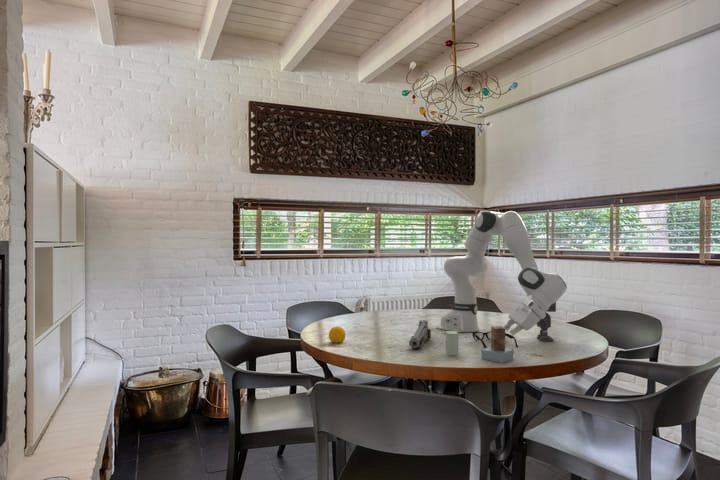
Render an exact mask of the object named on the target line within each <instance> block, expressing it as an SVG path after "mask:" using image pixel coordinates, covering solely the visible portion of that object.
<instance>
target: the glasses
mask: <svg viewBox="0 0 720 480" xmlns="http://www.w3.org/2000/svg"><path fill="white" fill-rule="evenodd" d="M489 333H490V334H491V331H485V332H482V331H474V332H472V333H471V335H472V337H473V340H474V341H477V340H478V341H480V342H481V344H482V346H483V349H485V348H488V346H487V345H486V343H485V341H484V339H485V338H486V339H487V340H490V341H491V338H489V336H488V335H489ZM477 334H482V337H480V336H478V335H477ZM505 337H507V338H509V339H510V340H511V339H512V340H513V341H514V344H515V348H517V349H518V348H519V346H518V342H517V338H516V337H515V336H514V335H512V334H511V333H506V332H505ZM478 341H477V342H478Z"/></svg>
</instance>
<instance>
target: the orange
mask: <svg viewBox="0 0 720 480" xmlns="http://www.w3.org/2000/svg"><path fill="white" fill-rule="evenodd" d="M328 332H329V333H328V339H329V340H330V342H331V343H334V344H341V343H343V342H344V341H346V337H347V336H346V330H345V329H344V328H343V327H341V326H333V327H331V329H330V330H329V331H328Z"/></svg>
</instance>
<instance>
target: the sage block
mask: <svg viewBox="0 0 720 480" xmlns="http://www.w3.org/2000/svg"><path fill="white" fill-rule="evenodd" d="M445 354H446V355H447V356H459V332H457V331H449V330H445Z"/></svg>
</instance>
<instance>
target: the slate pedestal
mask: <svg viewBox="0 0 720 480" xmlns="http://www.w3.org/2000/svg"><path fill="white" fill-rule="evenodd" d="M480 352H481V353H480V354H481V355H480V356H481V359H482V360H486V361H492V362H497V363H500V364H501V363H502V364H503V363H506V362H508V361H510V360H513V359H514V349H512V348H507V347H505V351H493V350H492V349H491V346H487V348H482V349H481V351H480Z"/></svg>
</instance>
